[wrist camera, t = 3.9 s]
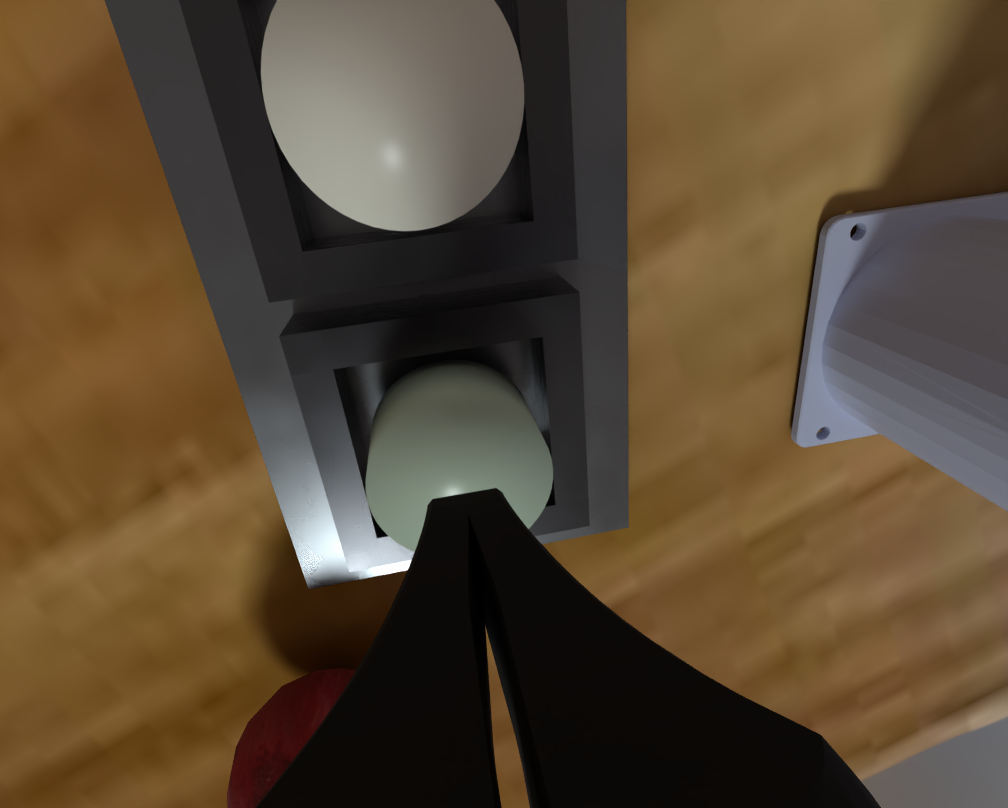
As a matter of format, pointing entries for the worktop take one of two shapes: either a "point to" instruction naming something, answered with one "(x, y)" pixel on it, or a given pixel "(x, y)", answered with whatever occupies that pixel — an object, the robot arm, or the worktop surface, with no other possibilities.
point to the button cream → (394, 104)
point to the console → (403, 269)
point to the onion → (281, 733)
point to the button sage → (453, 446)
